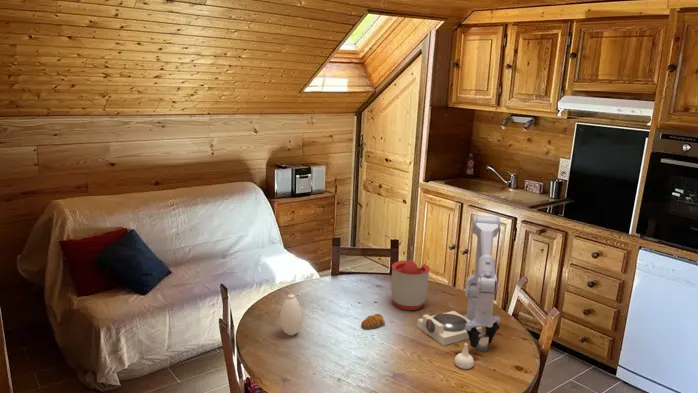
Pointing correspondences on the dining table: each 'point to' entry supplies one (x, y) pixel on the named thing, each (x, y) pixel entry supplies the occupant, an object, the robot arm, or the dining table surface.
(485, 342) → the cylinder
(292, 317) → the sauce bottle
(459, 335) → the base
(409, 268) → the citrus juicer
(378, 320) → the pastry
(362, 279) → the dining table surface
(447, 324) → the pan
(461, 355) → the garlic bulb
